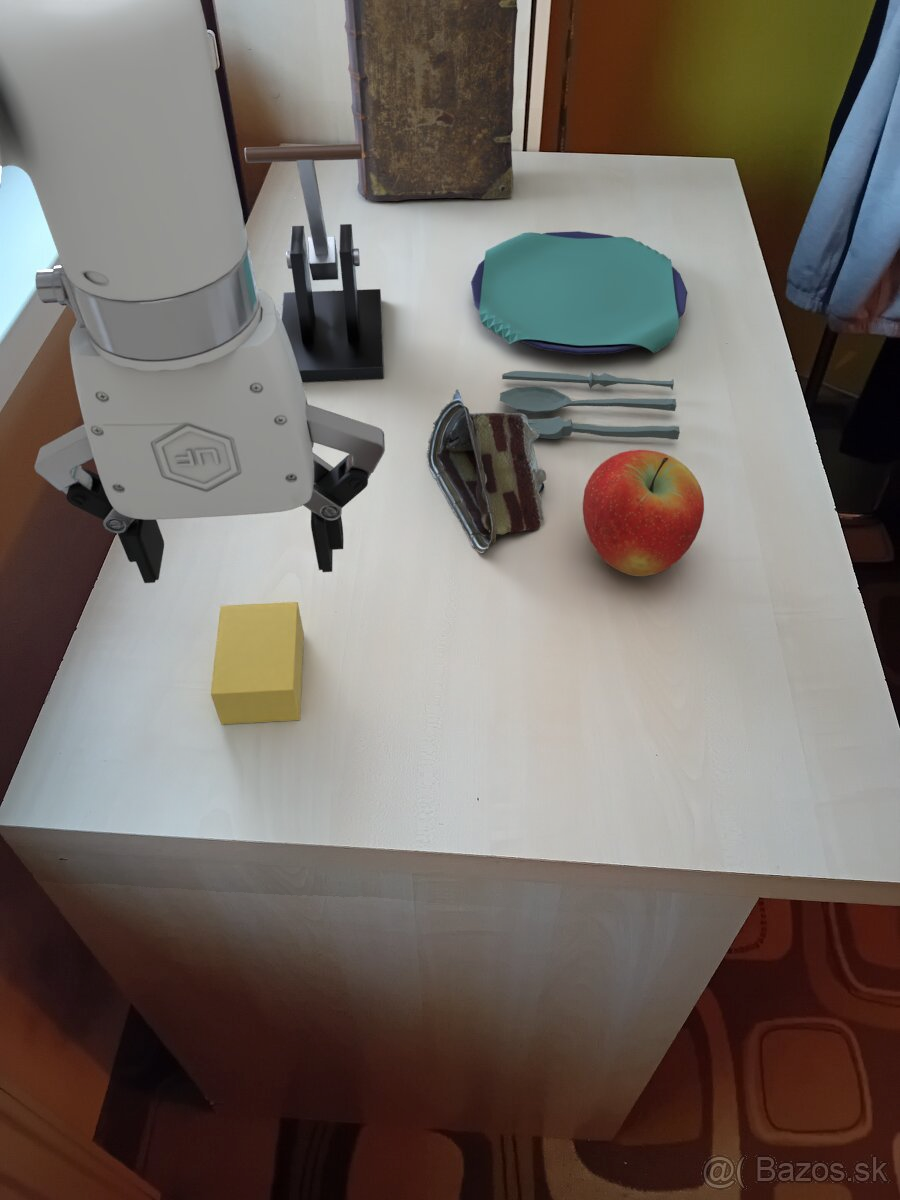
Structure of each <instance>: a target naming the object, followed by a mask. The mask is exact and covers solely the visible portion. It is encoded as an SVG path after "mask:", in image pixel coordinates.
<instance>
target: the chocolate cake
mask: <svg viewBox="0 0 900 1200" xmlns="http://www.w3.org/2000/svg"><path fill="white" fill-rule="evenodd" d="M528 420H529V418H528V416H527V415H526V414H524V413H523V412H522V413H521V412H515V413H512V412H473V413H471V412H470V409H469V407H467V406H466V405H464V402H463V399H462V395H461V393H460V391H459V389H457V388H456V390H455V392H454V394H453V395H452V400H451V401H450V402H449V403H446V404H445V406H444V407H443V408H442V409H441V410H440V412H439V416H438V417H437V418H436V420H435V421H434V422H433V423H432V424H433V427H432V431H431V433H430V436H429V439H428V442H427V443H428V445H427V452H426V459H427V466H428V468H429V471H430V472H431V473H432V479H434V480H435V479H436V481H437V483H436V484H437V485H438V487H439V489H440V490H441V491H442V493H443V494H444V496H445V499H447V503H448V505H449V506H450V507H451V510H452V513H453V514H454V516H456V517H457V519H458V520H459V523H460V525H461V527H462V529H463V530H464V531H465V533H466V536H467V538H468V540H469V542H470V544H471V547H472V548H473V549H475V550H476V551H477V552H479V553H481V554H482V553H485V551H487V550H486V549H489V547H491V546H493V545H494V544H495V542H496V540H497V535H505V534H507V533H511V534H516V533H519V532H524V531H528V530H530V531H532V530H538V529H539V528H540V527H541V524H542V522H543V521H544V519H545V518H544V512H543V504H542V497H541V495H540V493H541V492H543V491H544V489H545V488H546V487H545V481H546V480H547V473H546V471H545V469H543V468H538V462H537V458H536V454H535V448H534V442H535V441H536V440H538V439H539V438H540V437H539V432H538V431H537V430H536V429H534V428H532V427H530V426H529V425H528Z"/></svg>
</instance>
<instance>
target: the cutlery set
mask: <svg viewBox="0 0 900 1200" xmlns="http://www.w3.org/2000/svg"><path fill="white" fill-rule="evenodd" d="M470 285H471V290H472V291H471V292H472V296H473V297H472V298H473V304H474V306H475V307H476V308H477V309H478V311H479V318H480V319H479V320H480V322H481V324H482V326H484V327H485V328H486V329H487V330H491V331H492V332H493V333H494V334H495V335H498V336H499V337H500V338H501V339H503V340H505V341H506V342H507V343H508V344H509V345H510V344H512V343H514V342H517V341H519V342H521V343H524V344H526V345H530V346H533V347H535V348H537V349H540V350H545V351H551V352H558V353H565V354H572V355H593V354H594V355H596V354H597V355H599V354H616V353H619V352H623V351H627V350H632V349H635V348H638V347H643V348H646V349H647V350H649V351H651V352H652V354H656V353H657V352H659V351H661V350H662V349H664V348H665V347H667V346H668V345H669V344H670V343H671V342H672V341H673V340H675V338H676V335H677V334H678V333H677V332H678V330H679V324H680V319H681V318H682V316H683V315H684V314H685V312H686V305H687V298H688V290H687V288H686V285H685V283H684V281H683V278H682V276H681V273H680V272H679V271H678V270H677V269H676V268H675V267H674V266H673V263H672V259H671V258H668V256H666V255H665V254H664V253H660V252H659V251H658V250H656V249H652V247H650V246H649V245H645V244H644V243H642V242H641V240H639V241H638V240H636V239H634V238H633V237H629V236H628V237H627V236H614V235H611V234H603V233H595V232H588V231H587V232H586V231H579V230H578V231H576V230H575V231H555V232H554V231H553V232H543V233H540V232H532V231H531V232H523V233H520V234H518V235H516V236H514V237H512V238H508V239H506V240H504V241H502V242H500V243H498V244H496V245H494V246H493V247H491V248H489V249H487V250H485V253H484V258H483V260H482V261H480V263H479V264H478V265H477V267H476V270H475V272H474V274H473V277H472V279H471V282H470ZM501 379H502V380H509V381H510V380H512V381H531V382H548V383H549V382H551V383H569V384H587V385H588V387H589V390H592V389H593V387H594V386H596V385H600V386H602V387H604V388H606V387H610V386H614V385H618V384H622V385H643V386H644V385H647V386H655V387H663V388H665V387H666V388H670V389H671V391H673V390H674V386H675V381H674V379H671V380H645V379H638V378H632V377H631V378H630V377H619V376H618V377H617V376H615V375H612V374H609V373H606V372H603V373H601V374H595V373H594V372H593V371H592V370H591V371H590V373H589V375H583V374H574V373H566V372H555V371H554V372H553V371H536V370H535V371H533V370H513V371H508V372H505V373H503V374H502V375H501ZM499 402H500V403H503V404H505V405H507V406H509V407H511V408H512V409H514V410H515V411H518V412H522V413H527V414H534V415H542V414H552V413H554V412H557V411H559V410H562V409H563V408H567V407H606V408H607V407H619V408H633V409H634V408H635V409H636V408H637V409H649V410H650V409H651V410H658V411H659V410H660V411H669V412H676V408H677V407H678V406H677V398H631V397H630V398H629V397H628V398H624V397H623V398H621V397H620V398H619V397H618V398H617V397H616V398H604V399H603V398H600V399H593V398H592V399H576V400H575V399H574V400H572V399H571V398H570V397H569V396H568V395H566V394H564V393H562V392H560V391H558V390H557V389H555V388H548V387H542V386H537V385H531V386H530V385H529V386H516V387H512V388H510V389H507V390H505V391H502V392H500V393H499ZM528 425H529V426H530V427H532V428H534V429H536V430H537V431H538V432H539V437H538V438H541V439H547V440H548V439H549V440H550V439H551V440H559V439H561V438H566V437H571V435H572V433H578V434H579V433H580V434H585V435H586V434H587V435H593V436H600V437H611V438H636V439H637V438H638V439H639V438H653V439H654V438H655V439H667V440H679V437H680V433H681V430H680V426H677V425H669V426H668V425H641V426H640V425H638V426H614V425H609V426H608V425H607V426H606V425H597V424H590V423H589V424H587V423H578V422H577V423H576V422H573V420H572V418H569V419H566V420H563V419H562V418H561V416H559V415H557V416H555V417H550V418H532V419H528Z"/></svg>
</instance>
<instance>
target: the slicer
mask: <svg viewBox="0 0 900 1200" xmlns="http://www.w3.org/2000/svg"><path fill="white" fill-rule="evenodd" d="M353 235H354V234H353V226H352V224H351V223H346V224H344V223H343V224H341V223H340V224H339V249H338V251H339V253H338V254H339V263H340V265H339V266H340V274H341V284H342V290H315V291H313V288H312V281H311V280H312V279H311V271H310V266H309V255H308V249H307V248H308V247H307V241H306V233H305V226H304V225H292V226H291V233H290V243H289V244H290V246H289V248H290V249H289V250H286V253H285V257H286V265H287V269H289V270H291V273H292V282H293V287H294V291H290V292H287V291H286V292H283V294H282V295H283V297H282V307H281V308H282V309H281V320H282V322H283V325H284V327H285V330H286V332H287V335H288V338H289V340H290V343H291V346H292V349H293V352H294V355H295V359H296V362H297V366H298V369H299V372H300V376H301V379H302V383H309V382H331V381H332V382H333V381H334V382H335V381H354V380H355V381H356V380H360V381H361V380H380V379H384V378H385V373H384V372H385V371H384V347H383V345H384V344H383V342H384V341H383V316H382V315H383V314H382V292H381V291H382V290H381V288H371V289H368V288H367V289H358V283H357V271H356V270H357V269H356V267H360V266H361V260H360V259H361V258H360V257H361V255H360V249H359V248H354V237H353Z"/></svg>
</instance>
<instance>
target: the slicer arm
mask: <svg viewBox="0 0 900 1200" xmlns="http://www.w3.org/2000/svg"><path fill="white" fill-rule="evenodd" d="M244 156H245V157H244V158H245V162H246V163H248V164H253V163H255V164H256V163H285V162H296V166H297V171H298V176H299V181H300V185H301V186H300V187H301V190H302V196H303V201H304V206H305V211H306V215H307V221H308V225H309V232H310V236H308V237H307V248H308V249H307V253H308V264H309V272H310V276H311V280H312V281H333V280H334V281H335V280H336V281H337V280H339V260H338V259H339V257H338V256H339V255H338V248H337V243H336V236H334V235H330V236H329V235H328V236H327V228H326V224H325V217H324V213H323V212H324V211H323V207H322V201H321V194H320V189H319V182H318V177H317V171H316V166H315V165H316V164H315V162H317V161H347V160H348V161H350V160H357V159H362V149H361V144H355V143H351V144H348V143H347V144H319V145H318V144H317V145H315V144H314V145H287V146H281V145H280V146H256V147H255V146H253V147H245V148H244Z"/></svg>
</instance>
